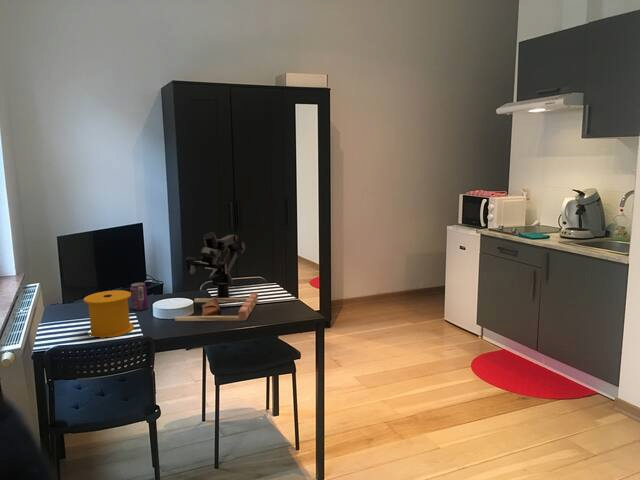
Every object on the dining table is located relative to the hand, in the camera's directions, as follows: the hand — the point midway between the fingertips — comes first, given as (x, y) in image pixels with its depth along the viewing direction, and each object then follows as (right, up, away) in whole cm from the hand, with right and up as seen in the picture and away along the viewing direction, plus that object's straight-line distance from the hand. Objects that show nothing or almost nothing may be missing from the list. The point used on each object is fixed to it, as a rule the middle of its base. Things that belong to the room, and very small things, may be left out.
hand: (200, 276), depth 235 cm
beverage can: (-31, -16, +10) cm, 36 cm away
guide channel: (+7, -16, +5) cm, 18 cm away
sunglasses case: (+4, -16, +5) cm, 18 cm away
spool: (-32, -21, -19) cm, 43 cm away
